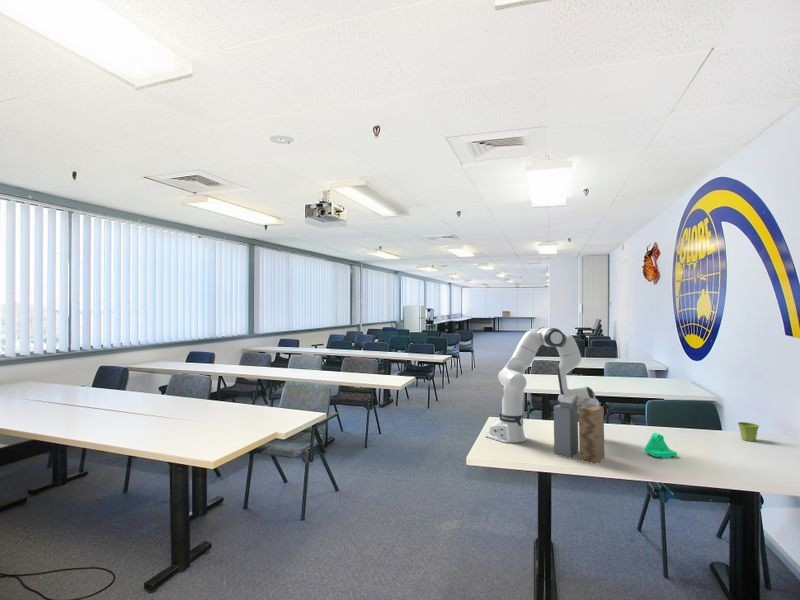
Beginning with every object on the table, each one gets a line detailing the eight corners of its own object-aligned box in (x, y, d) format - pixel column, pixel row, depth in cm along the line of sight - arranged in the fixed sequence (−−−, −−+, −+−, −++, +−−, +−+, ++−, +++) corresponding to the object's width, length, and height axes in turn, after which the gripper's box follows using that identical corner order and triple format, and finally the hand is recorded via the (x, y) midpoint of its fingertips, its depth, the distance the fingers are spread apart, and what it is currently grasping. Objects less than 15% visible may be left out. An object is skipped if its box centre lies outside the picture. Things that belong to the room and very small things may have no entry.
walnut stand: (579, 460, 205) (578, 408, 205) (587, 454, 213) (586, 404, 213) (597, 463, 199) (596, 410, 200) (604, 457, 207) (603, 406, 208)
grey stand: (554, 454, 213) (553, 406, 214) (562, 448, 221) (562, 402, 222) (570, 457, 208) (569, 408, 208) (578, 452, 216) (577, 405, 216)
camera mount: (655, 459, 206) (654, 437, 206) (644, 453, 213) (644, 433, 214) (678, 458, 207) (677, 436, 207) (666, 452, 214) (666, 432, 215)
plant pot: (753, 438, 237) (753, 422, 238) (763, 443, 228) (763, 427, 228) (734, 437, 240) (734, 421, 240) (743, 442, 231) (743, 426, 231)
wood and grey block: (560, 407, 211) (560, 398, 211) (569, 397, 228) (569, 389, 227) (572, 408, 208) (572, 399, 208) (581, 399, 224) (581, 390, 224)
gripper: (563, 397, 240) (555, 388, 231) (602, 402, 226) (594, 392, 217) (561, 408, 237) (553, 399, 229) (600, 413, 224) (592, 404, 215)
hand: (573, 396), depth 223 cm, fingers closed on wood and grey block, 3 cm apart
